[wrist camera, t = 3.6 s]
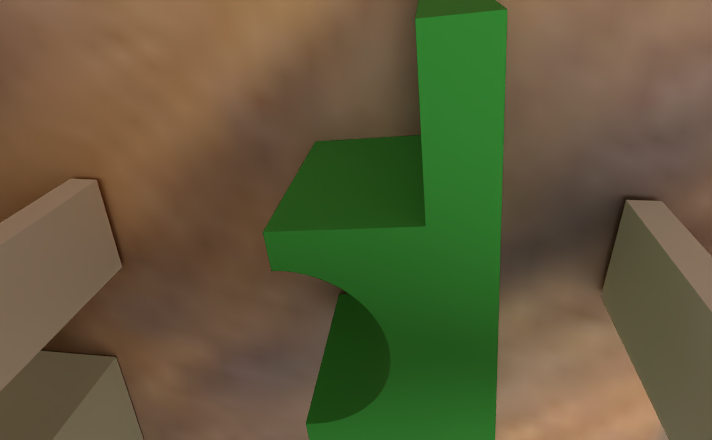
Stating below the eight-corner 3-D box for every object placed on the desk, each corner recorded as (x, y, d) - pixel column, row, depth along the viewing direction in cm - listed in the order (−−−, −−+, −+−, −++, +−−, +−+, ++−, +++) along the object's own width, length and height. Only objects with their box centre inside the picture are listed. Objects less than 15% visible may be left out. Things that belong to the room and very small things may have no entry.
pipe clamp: (296, 5, 11) (217, 34, 7) (476, -15, 10) (509, 4, 6) (354, 389, 16) (329, 538, 12) (475, 391, 15) (493, 549, 11)
